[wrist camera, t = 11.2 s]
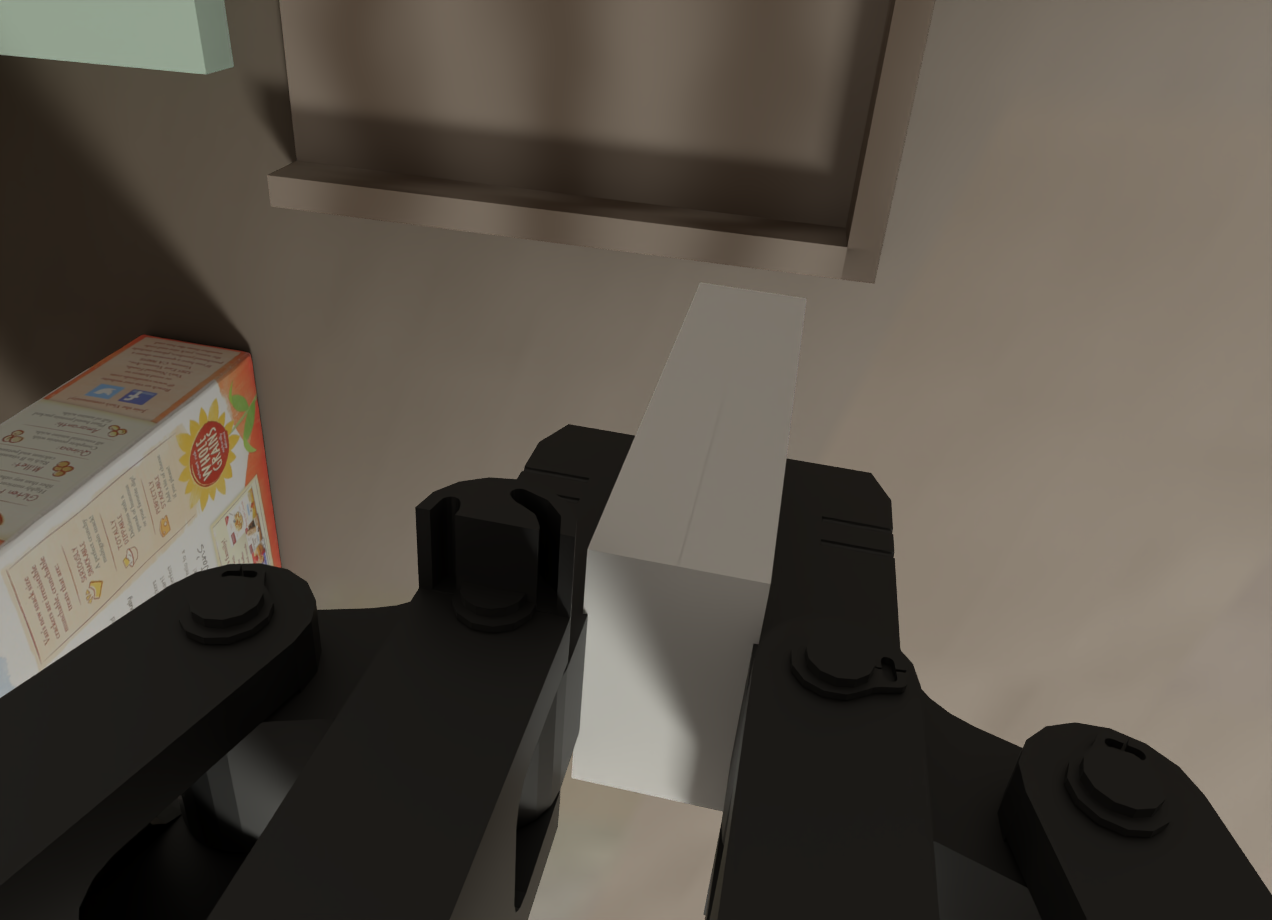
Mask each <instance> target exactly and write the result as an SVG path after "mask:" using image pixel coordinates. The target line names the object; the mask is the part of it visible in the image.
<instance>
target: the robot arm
mask: <svg viewBox="0 0 1272 920" xmlns="http://www.w3.org/2000/svg"><path fill="white" fill-rule="evenodd" d="M806 300H807V298H802V297H795V296H789V295H782V294H775V293H769V292H762V291H755V290H749V289H742V288H735V287H728V286H722V285H715V284H708V283H702V282H700V284H699V286H698V288H697V291H696V293H695V295H694V298H693V300H692V303H691V305H690V307H689V310H688V312H687V314H686V317H685V319H684V321H683V324H682V326H681V329H680V331H679V333H678V336H677V338H676V340H675V343H674V345H673V348H672V350H671V352H670V355H669V357H668V359H667V362H666V364H665V367H664V369H663V371H662V374H661V376H660V378H659V381H658V383H657V386H656V388H655V390H654V393H653V395H652V397H651V400H650V402H649V405H648V407H647V409H646V412H645V414H644V416H643V419H642V421H641V424H640V426H639V428H638V431H637V433H636V435H635V436H634V435H628V434H622V433H616V432H611V431H605V430H599V429H593V428H587V427H581V426H576V425H570V424H568V425H567V426H565V427H563V428H562V429H560V430H558V431H557V432H555V433H553V434H552V435H550V436H549V437H547V438H545V439H544V440H542V441H540V442H539V443H538V445H537V447H536V448H535V450H534V452H533V453H532V455H531V457H530V458H529V460H528V462H527V463H526V465H525V468H524V471H522V472H521V473H520V475H519V477H518V478H517V479H503V478H482V479H475V480H468V481H461V482H457V483H455V484H452V485H450V486H447V487H445V488H442V489H440V490H437V491H435V492H433V493H432V494H430V495H429V496H428V497H427V498H426V499H425V500H424V501H422V502H421V503H420V504H419V505H418V506H417V507H415V508H416V530H417V552H418V574H419V589H418V591H417V592H416V594H415V595H414V597H413V599H412V600H411V602H408V603H404V604H400V605H397V606H388V607H379V608H365V609H334V610H317V607H316V600H315V597H314V595H313V593H312V591H311V589H310V587H309V585H308V583H307V582H306V581H305V580H303V579H302V578H300V577H299V576H297V575H296V574H294V573H293V572H291V571H290V570H288V569H284V568H279V567H275V566H271V565H266V564H262V563H250V564H227V565H223V566H219V567H215V568H211V569H207V570H203V571H199V572H196V573H194V574H192V575H190V576H188V577H186V578H184V579H182V580H180V581H178V582H176V583H173V584H171V585H169V586H168V587H166V588H165V589H163V590H162V591H160V592H159V593H157V594H156V595H154V596H153V597H151V598H150V599H148V600H147V601H145V602H144V603H142V604H141V605H139V606H138V607H136V608H135V609H133V610H132V611H130V612H129V613H127V614H126V615H124V616H123V617H121V618H120V619H118V620H117V621H115V622H114V623H112V624H111V625H109V626H108V627H106V628H105V629H103V630H101V631H100V632H98V633H97V634H95V635H94V636H92V637H91V638H89V639H88V640H86V641H85V642H83V643H82V644H80V645H79V646H77V647H76V648H74V649H73V650H71V651H70V652H68V653H67V654H65V655H64V656H62V657H61V658H59V659H58V660H56V661H55V662H53V663H52V664H50V665H49V666H47V667H46V668H44V669H43V670H41V671H40V672H38V673H37V674H35V675H34V676H32V677H31V678H29V679H28V680H26V681H25V682H23V683H22V684H20V685H19V686H17V687H16V688H14V689H13V690H11V691H10V692H8V693H7V694H5V695H4V696H2V697H1V698H0V920H528V917H529V914H530V911H531V908H532V905H533V902H534V898H535V895H536V892H537V889H538V886H539V883H540V880H541V877H542V874H543V871H544V867H545V864H546V861H547V858H548V855H549V852H550V849H551V846H552V843H553V840H554V836H555V833H556V830H557V827H558V816H559V804H560V788H561V785H562V782H563V779H564V776H565V773H566V770H567V767H568V764H569V761H570V758H571V755H572V752H573V764H572V778H574V779H579V780H583V781H588V782H592V783H597V784H601V785H606V786H610V787H615V788H619V789H624V790H628V791H633V792H637V793H642V794H647V795H651V796H656V797H660V798H665V799H669V800H674V801H678V802H683V803H687V804H692V805H696V806H701V807H705V808H710V809H714V810H719V811H723V816H722V823H721V828H720V833H719V838H718V843H717V848H716V853H715V859H714V864H713V869H712V874H711V879H710V884H709V889H708V894H707V899H706V904H705V909H704V915H706V917H705V920H1272V894H1271V893H1270V891H1269V890H1268V889H1267V887H1266V886H1265V884H1264V883H1263V881H1262V880H1261V878H1260V877H1259V875H1258V874H1257V872H1256V871H1255V869H1254V868H1253V866H1252V865H1251V863H1250V862H1249V860H1248V859H1247V857H1246V856H1245V854H1244V853H1243V851H1242V850H1241V848H1240V847H1239V845H1238V844H1237V843H1236V841H1235V840H1234V838H1233V837H1232V835H1231V834H1230V832H1229V831H1228V829H1227V828H1226V826H1225V825H1224V823H1223V822H1222V820H1221V819H1220V817H1219V816H1218V814H1217V813H1216V811H1215V810H1214V808H1213V807H1212V805H1211V804H1210V802H1209V801H1208V799H1207V798H1206V796H1205V795H1204V794H1203V793H1202V792H1201V791H1200V790H1199V788H1198V787H1197V786H1196V785H1195V784H1194V783H1193V782H1192V781H1191V780H1190V778H1189V777H1188V776H1187V775H1186V774H1185V773H1184V772H1183V771H1182V769H1181V768H1180V767H1179V766H1177V765H1176V764H1174V763H1173V762H1171V761H1170V760H1169V759H1167V758H1166V757H1164V756H1163V755H1161V754H1160V753H1158V752H1157V751H1156V750H1154V749H1153V748H1151V747H1150V746H1148V745H1147V744H1145V743H1143V742H1141V741H1138V740H1136V739H1133V738H1131V737H1129V736H1126V735H1124V734H1122V733H1119V732H1117V731H1115V730H1112V729H1110V728H1104V727H1098V726H1093V725H1087V724H1081V723H1068V724H1061V725H1053V726H1046V727H1045V728H1043V729H1042V730H1040V731H1039V732H1037V733H1036V734H1034V735H1033V736H1032V737H1030V738H1029V739H1027V740H1026V742H1025V744H1024V747H1023V748H1021V747H1019V746H1017V745H1014V744H1012V743H1010V742H1008V741H1005V740H1003V739H1001V738H999V737H996V736H994V735H992V734H990V733H987V732H985V731H983V730H981V729H978V728H976V727H974V726H972V725H970V724H969V723H967V722H965V721H963V720H961V719H959V718H957V717H956V716H954V715H952V714H950V713H949V712H947V711H946V710H945V709H943V708H942V707H941V706H939V705H938V704H937V703H935V702H934V701H933V700H932V699H930V698H929V697H928V696H927V695H926V694H925V692H924V691H923V690H922V689H921V686H920V683H919V680H918V677H917V674H916V672H915V669H914V666H913V664H912V663H911V661H910V660H909V659H908V658H907V657H906V656H905V655H904V654H903V653H902V651H901V649H900V638H899V621H898V605H897V589H896V572H895V558H893V556H894V539H893V534H892V530H893V523H892V507H891V500H890V498H889V497H888V496H887V494H886V493H885V491H884V490H883V489H882V487H881V486H880V485H879V483H878V482H877V481H876V479H875V478H874V476H873V475H872V474H871V473H868V472H862V471H856V470H850V469H845V468H839V467H833V466H827V465H821V464H815V463H810V462H804V461H798V460H792V459H786V458H787V450H788V442H789V435H790V427H791V419H792V411H793V403H794V395H795V387H796V379H797V371H798V363H799V355H800V347H801V340H802V332H803V324H804V316H805V308H806Z"/></svg>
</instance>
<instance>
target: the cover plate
mask: <svg viewBox="0 0 1272 920" xmlns="http://www.w3.org/2000/svg"><path fill="white" fill-rule="evenodd" d="M0 55H9V56H20V57H30V58H41V59H51V60H62V61H72V62H82V63H93V64H103V65H114V66H124V67H135V68H145V69H156V70H166V71H177V72H187V73H198V74H209V73H213V72H216V71H220V70H224V69H227V68H231V67H234V65H233V58H232V51H231V44H230V38H229V31H228V24H227V17H226V11H225V4H224V0H0Z"/></svg>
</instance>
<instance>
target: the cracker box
mask: <svg viewBox="0 0 1272 920" xmlns="http://www.w3.org/2000/svg"><path fill="white" fill-rule="evenodd" d="M250 563H262V564H266V565H271V566H275V567H279V568H281V561H280V555H279V547H278V540H277V533H276V526H275V519H274V512H273V505H272V498H271V492H270V485H269V477H268V471H267V463H266V456H265V449H264V442H263V435H262V428H261V421H260V414H259V407H258V400H257V392H256V386H255V379H254V371H253V362H252V359H251V354H250V353H248V352H244V351H239V350H232V349H227V348H221V347H214V346H208V345H202V344H197V343H190V342H184V341H178V340H173V339H166V338H159V337H154V336H149V335H145V334H144V335H141V336H139V337H138V338H136V339H135V340H133V341H131V342H130V343H128V344H127V345H125V346H124V347H122V348H120V349H119V350H117V351H115V352H114V353H112V354H110V355H109V356H107V357H106V358H104V359H102V360H101V361H99V362H98V363H97V364H95V365H94V366H92V367H90V368H88V369H87V370H85V371H83V372H82V373H80V374H79V375H77V376H75V377H74V378H72V379H71V380H69V381H67V382H66V383H64V384H63V385H61V386H60V387H58V388H57V389H55V390H53V391H52V392H50V393H49V394H47V395H46V396H44V397H43V398H41V399H40V400H38V401H36V402H34V403H33V404H32V405H30V406H28V407H27V408H25V409H23V410H22V411H20V412H19V413H18V414H16V415H15V416H13V417H11V418H10V419H8V420H7V421H5V422H3V423H2V424H0V698H1V697H2V696H4V695H5V694H7V693H8V692H10V691H11V690H13V689H14V688H16V687H17V686H19V685H20V684H22V683H23V682H25V681H26V680H28V679H29V678H31V677H32V676H34V675H35V674H37V673H38V672H40V671H41V670H43V669H44V668H46V667H47V666H49V665H50V664H52V663H53V662H55V661H56V660H58V659H59V658H61V657H62V656H64V655H65V654H67V653H68V652H70V651H71V650H73V649H74V648H76V647H77V646H79V645H80V644H82V643H83V642H85V641H86V640H88V639H89V638H91V637H92V636H94V635H95V634H97V633H98V632H100V631H101V630H103V629H105V628H106V627H108V626H109V625H111V624H112V623H114V622H115V621H117V620H118V619H120V618H121V617H123V616H124V615H126V614H127V613H129V612H130V611H132V610H133V609H135V608H136V607H138V606H139V605H141V604H142V603H144V602H145V601H147V600H148V599H150V598H151V597H153V596H154V595H156V594H157V593H159V592H160V591H162V590H163V589H165V588H166V587H168V586H169V585H171V584H173V583H176V582H178V581H180V580H182V579H184V578H186V577H188V576H190V575H192V574H194V573H196V572H199V571H203V570H207V569H211V568H215V567H219V566H223V565H227V564H250Z"/></svg>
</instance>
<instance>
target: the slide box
mask: <svg viewBox="0 0 1272 920" xmlns="http://www.w3.org/2000/svg"><path fill="white" fill-rule="evenodd" d="M279 3H280V12H281V21H282V30H283V39H284V49H285V58H286V67H287V76H288V86H289V95H290V104H291V113H292V123H293V132H294V141H295V150H296V159H297V161H295V162H293V163H291V164H289V165H287V166H285V167H283V168H281V169H279V170H277V171H275V172H273V173H271V174H269V175H267V179H268V187H269V195H270V203H271V207H279V208H287V209H295V210H303V211H311V212H318V213H326V214H334V215H342V216H350V217H357V218H365V219H373V220H381V221H389V222H397V223H404V224H412V225H420V226H428V227H436V228H444V229H451V230H459V231H467V232H475V233H483V234H490V235H498V236H506V237H514V238H522V239H530V240H537V241H545V242H553V243H561V244H569V245H577V246H584V247H592V248H600V249H608V250H616V251H623V252H631V253H639V254H647V255H655V256H663V257H670V258H678V259H686V260H694V261H702V262H710V263H717V264H725V265H733V266H741V267H749V268H756V269H764V270H772V271H780V272H788V273H796V274H803V275H811V276H819V277H827V278H835V279H842V280H850V281H858V282H866V283H875V278H876V274H877V269H878V264H879V260H880V255H881V250H882V246H883V241H884V236H885V232H886V227H887V222H888V218H889V213H890V208H891V204H892V199H893V195H894V190H895V185H896V181H897V176H898V171H899V167H900V162H901V157H902V153H903V148H904V143H905V139H906V134H907V129H908V125H909V120H910V115H911V111H912V106H913V102H914V97H915V92H916V88H917V83H918V78H919V74H920V69H921V64H922V60H923V55H924V50H925V46H926V41H927V36H928V32H929V27H930V23H931V18H932V13H933V9H934V4H935V0H279Z"/></svg>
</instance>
